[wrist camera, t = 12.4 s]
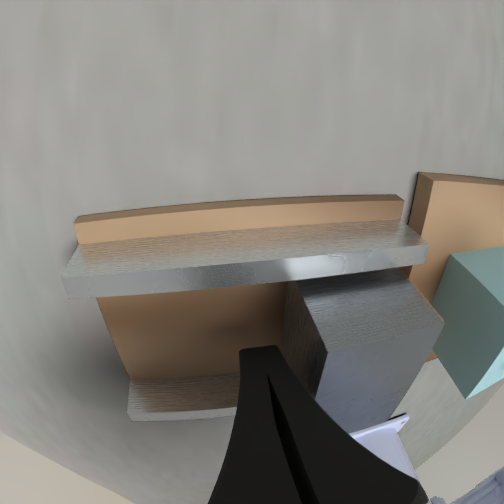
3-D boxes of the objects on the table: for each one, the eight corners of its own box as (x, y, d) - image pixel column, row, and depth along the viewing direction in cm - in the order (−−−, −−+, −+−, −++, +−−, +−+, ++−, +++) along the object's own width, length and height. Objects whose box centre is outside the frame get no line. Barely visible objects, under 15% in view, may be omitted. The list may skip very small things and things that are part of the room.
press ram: (366, 354, 14) (398, 416, 11) (278, 371, 14) (300, 445, 10) (398, 253, 11) (457, 319, 8) (287, 265, 11) (328, 352, 7)
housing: (474, 314, 16) (531, 385, 10) (419, 331, 15) (479, 422, 9) (504, 245, 13) (579, 316, 7) (450, 253, 12) (540, 347, 7)
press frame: (462, 336, 18) (480, 360, 16) (144, 397, 15) (142, 436, 13) (522, 182, 12) (553, 201, 10) (72, 189, 9) (42, 223, 7)
